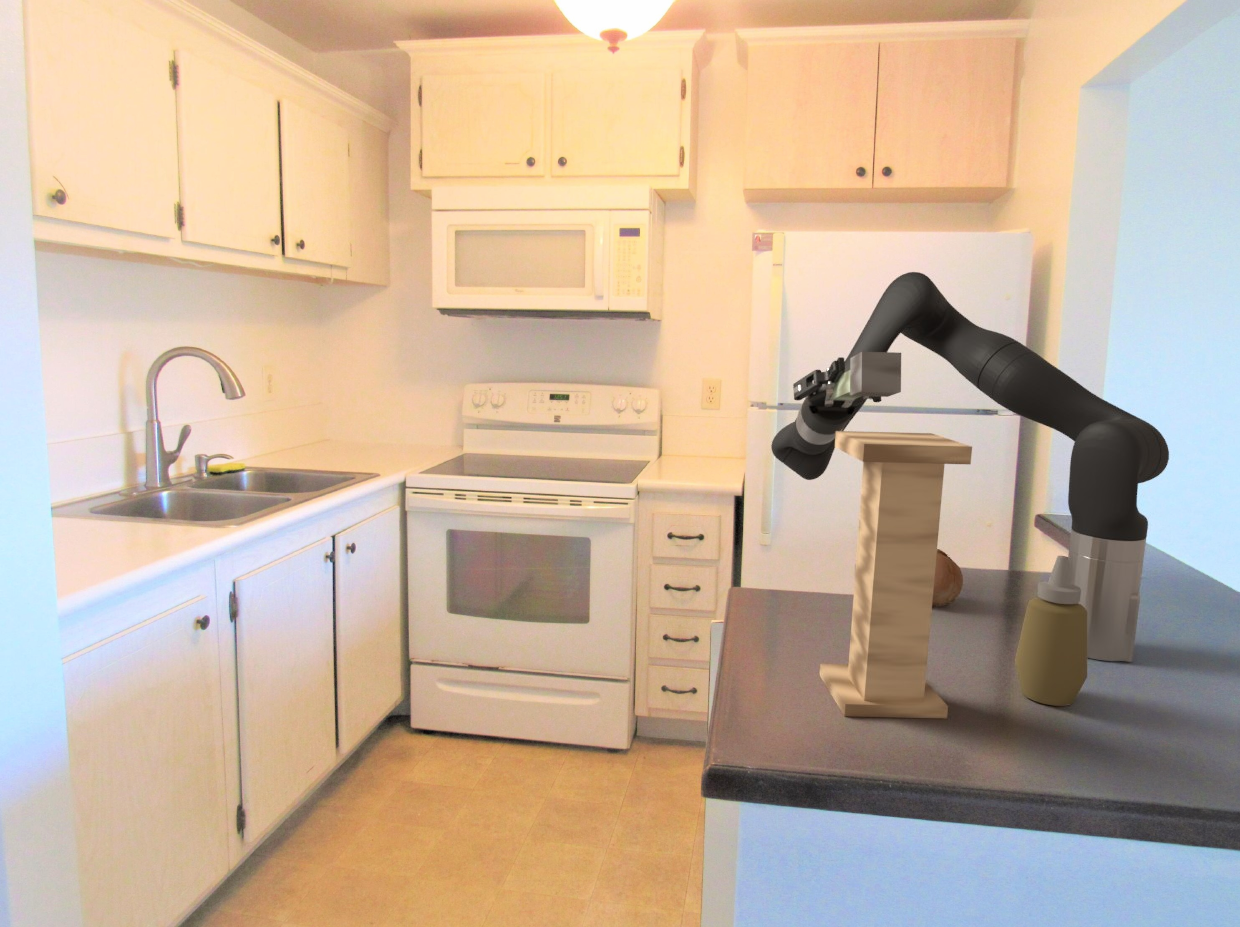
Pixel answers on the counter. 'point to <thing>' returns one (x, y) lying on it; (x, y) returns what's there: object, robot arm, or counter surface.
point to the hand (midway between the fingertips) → (854, 363)
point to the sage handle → (870, 376)
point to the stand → (894, 574)
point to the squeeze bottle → (1053, 641)
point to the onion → (946, 580)
